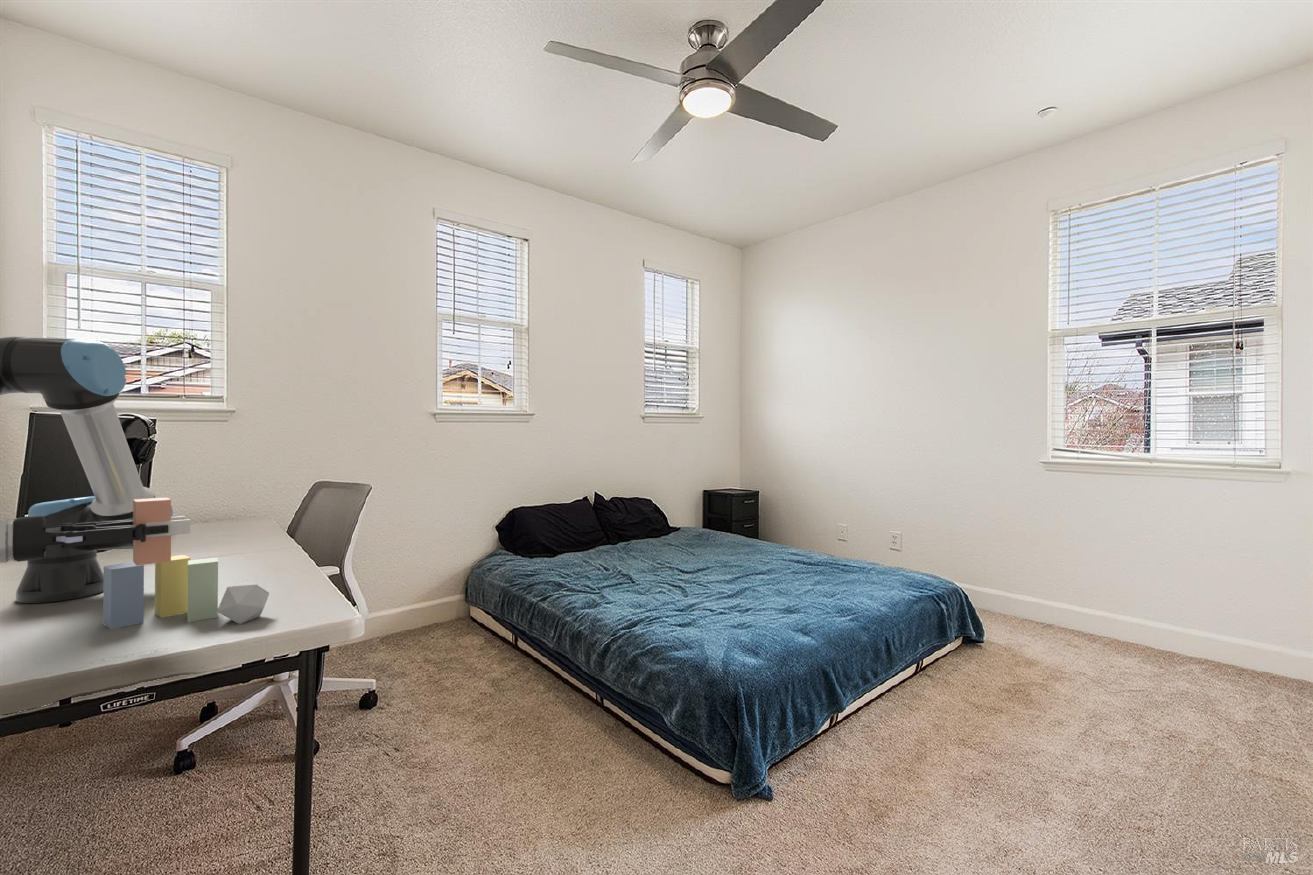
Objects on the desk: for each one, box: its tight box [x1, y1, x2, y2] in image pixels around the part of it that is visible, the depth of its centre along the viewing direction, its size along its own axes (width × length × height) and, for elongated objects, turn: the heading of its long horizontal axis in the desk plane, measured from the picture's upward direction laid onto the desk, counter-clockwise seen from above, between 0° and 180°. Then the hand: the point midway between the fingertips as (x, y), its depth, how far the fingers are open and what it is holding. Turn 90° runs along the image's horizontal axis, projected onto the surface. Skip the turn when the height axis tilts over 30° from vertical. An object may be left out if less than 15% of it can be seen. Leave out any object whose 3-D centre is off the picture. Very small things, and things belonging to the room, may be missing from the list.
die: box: [217, 580, 270, 625], centre depth 120 cm, size 8×9×10 cm
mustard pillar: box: [154, 554, 192, 619], centre depth 124 cm, size 5×5×12 cm
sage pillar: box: [186, 557, 219, 623], centre depth 122 cm, size 5×5×12 cm
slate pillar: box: [102, 561, 145, 630], centre depth 117 cm, size 5×5×12 cm
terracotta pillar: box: [132, 497, 172, 566], centre depth 110 cm, size 5×5×12 cm
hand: (187, 524), depth 114 cm, fingers closed on terracotta pillar, 5 cm apart
